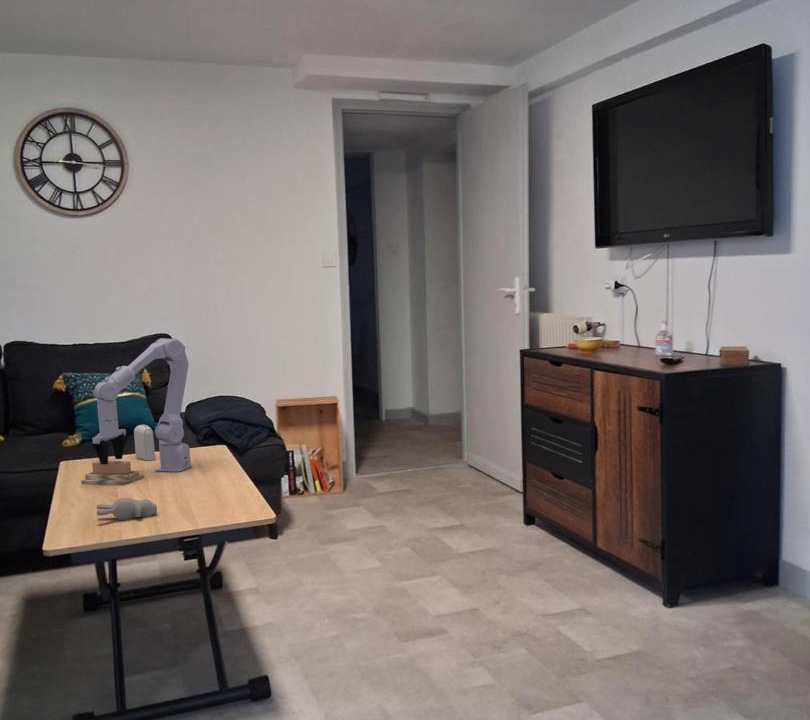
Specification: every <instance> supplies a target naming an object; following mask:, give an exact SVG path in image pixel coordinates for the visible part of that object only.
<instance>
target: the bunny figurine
mask: <svg viewBox="0 0 810 720" xmlns="http://www.w3.org/2000/svg"><path fill="white" fill-rule="evenodd" d="M157 512H158V505H157V504H156V503H153V502H152V501H151V500H149V499H146V498H145V499H141V500H139V499H137V500H136V499H134V498H132V497H131V498H130V497H129V498H128V497H125V498H124V497H121V498H118V499H117V500H116V501H114V502H113V503H112V505H109V504H104V503H103V504H101V503H100V504H96V516H101V517H102V516H107V515H112V516H114V517H115V518H116V519H117V520H118V521H128V520H129V519H130V520H132V519H136V518H140V517H142V518H150V517H152V516H153V515H154V514H157Z"/></svg>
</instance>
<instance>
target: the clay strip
mask: <svg viewBox="0 0 810 720" xmlns="http://www.w3.org/2000/svg"><path fill="white" fill-rule="evenodd" d="M91 464H92V472H93V474H94V475H129V474H131V471H132V465H131V461H128V460H127V461H122V460H121V461H120V460H119V461H118V460H114V461H113V460H110V461H109V460H108V464H106V465H104V464H101V463H100V460H97V461H94V462H92V463H91Z"/></svg>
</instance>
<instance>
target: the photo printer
mask: <svg viewBox="0 0 810 720" xmlns="http://www.w3.org/2000/svg"><path fill="white" fill-rule="evenodd" d="M133 436H134V437H133V438H134V451H135V457H136V458H137V459H139V460H143V461H154V460H155V459H156V452H155V440H154V438H155V437H154V431H153V429H152V428H151V427H150V426H149V425H147V424H139V425H137V426H136V427H135V428H134V429H133Z"/></svg>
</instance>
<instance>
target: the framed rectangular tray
mask: <svg viewBox="0 0 810 720" xmlns="http://www.w3.org/2000/svg"><path fill="white" fill-rule="evenodd" d="M84 477H85V479H82V480H80V482H81V484H82V483H83V484H82V485H107V486H112V485H113V486H126V484H127V485H128V484H132V483H134V482H136V481H138V480H141V479H143V478H144V474H142V473H141V474H140V470H131V474H129V475H94V474H93V471H91V472H88V473H86V474H85V476H84ZM131 482H132V483H131Z"/></svg>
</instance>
